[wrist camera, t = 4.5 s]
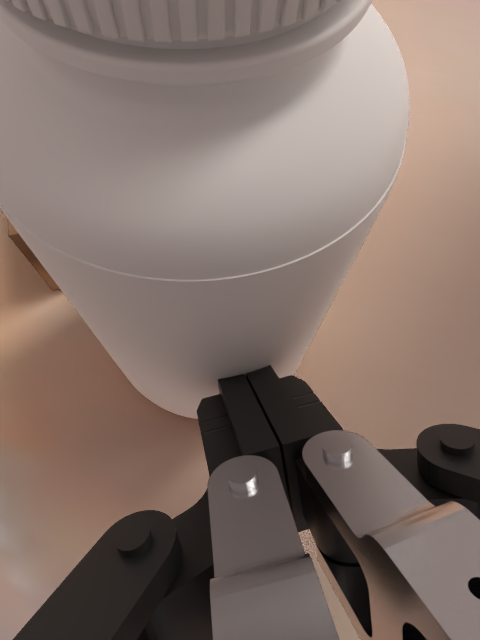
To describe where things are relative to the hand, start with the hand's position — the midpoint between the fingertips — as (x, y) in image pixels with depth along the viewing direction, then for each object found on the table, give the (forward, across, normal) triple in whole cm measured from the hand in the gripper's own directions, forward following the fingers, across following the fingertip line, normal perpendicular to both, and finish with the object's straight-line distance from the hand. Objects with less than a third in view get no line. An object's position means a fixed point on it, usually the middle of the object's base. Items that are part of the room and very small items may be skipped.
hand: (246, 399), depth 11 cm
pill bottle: (+7, 0, 0) cm, 7 cm away
